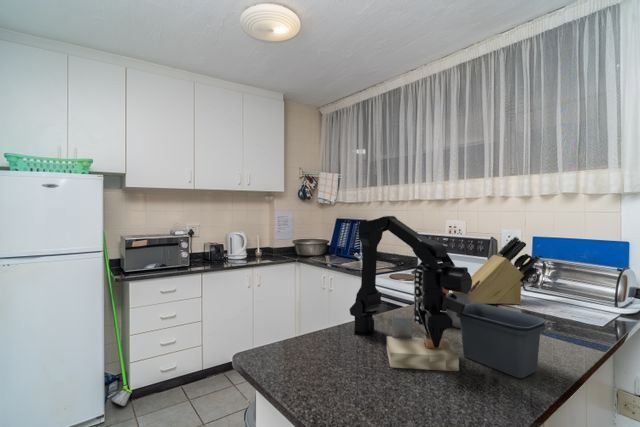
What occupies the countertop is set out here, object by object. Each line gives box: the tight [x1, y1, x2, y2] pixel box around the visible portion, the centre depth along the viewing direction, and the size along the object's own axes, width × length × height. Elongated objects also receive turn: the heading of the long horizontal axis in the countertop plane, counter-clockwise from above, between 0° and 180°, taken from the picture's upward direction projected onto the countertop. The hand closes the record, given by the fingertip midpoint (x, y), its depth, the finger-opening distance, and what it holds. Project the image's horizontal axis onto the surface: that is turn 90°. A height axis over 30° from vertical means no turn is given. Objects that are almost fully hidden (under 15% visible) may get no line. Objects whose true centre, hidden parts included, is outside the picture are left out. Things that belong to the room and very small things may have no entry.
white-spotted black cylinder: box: [413, 268, 424, 326], centre depth 127 cm, size 8×8×20 cm
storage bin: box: [456, 303, 548, 379], centre depth 92 cm, size 21×16×14 cm
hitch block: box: [386, 335, 460, 372], centre depth 94 cm, size 18×12×4 cm, turn 83°
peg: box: [423, 333, 443, 350], centre depth 94 cm, size 4×4×7 cm
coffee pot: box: [445, 281, 483, 329], centre depth 126 cm, size 21×12×15 cm, turn 129°
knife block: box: [468, 236, 541, 305], centre depth 156 cm, size 11×35×31 cm, turn 89°
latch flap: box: [391, 316, 413, 338], centre depth 100 cm, size 6×6×1 cm
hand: (432, 340), depth 94 cm, fingers open, 9 cm apart
